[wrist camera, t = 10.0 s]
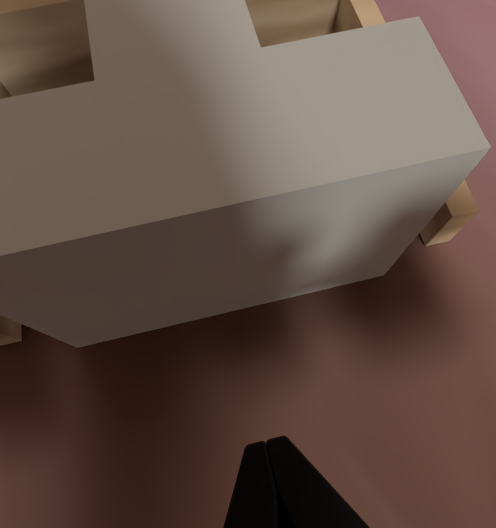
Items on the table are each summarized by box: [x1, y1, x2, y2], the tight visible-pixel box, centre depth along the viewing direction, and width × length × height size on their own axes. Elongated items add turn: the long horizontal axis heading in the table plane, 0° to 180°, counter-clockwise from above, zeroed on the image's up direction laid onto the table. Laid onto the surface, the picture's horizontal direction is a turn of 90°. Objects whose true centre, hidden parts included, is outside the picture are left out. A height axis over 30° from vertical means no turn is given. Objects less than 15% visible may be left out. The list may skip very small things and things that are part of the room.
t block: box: [0, 0, 491, 348], centre depth 14 cm, size 12×12×8 cm
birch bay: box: [0, 0, 480, 346], centre depth 17 cm, size 13×18×4 cm
